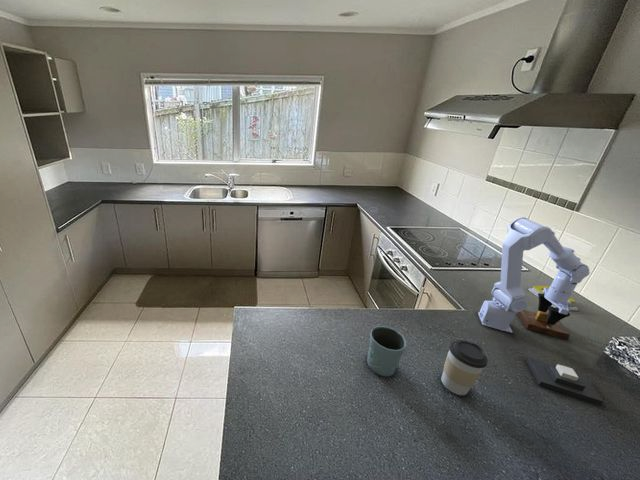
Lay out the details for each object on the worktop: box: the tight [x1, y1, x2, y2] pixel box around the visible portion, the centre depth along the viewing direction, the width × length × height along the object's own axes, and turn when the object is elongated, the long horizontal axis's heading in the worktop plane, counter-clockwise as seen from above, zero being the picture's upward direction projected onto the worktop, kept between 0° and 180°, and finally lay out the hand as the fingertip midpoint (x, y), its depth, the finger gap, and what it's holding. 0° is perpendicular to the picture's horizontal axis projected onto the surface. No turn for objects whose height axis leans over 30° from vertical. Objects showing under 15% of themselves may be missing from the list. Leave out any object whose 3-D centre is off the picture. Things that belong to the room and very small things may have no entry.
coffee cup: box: [440, 339, 489, 396], centre depth 83 cm, size 9×9×15 cm
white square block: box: [555, 363, 579, 381], centre depth 86 cm, size 4×4×2 cm
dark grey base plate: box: [526, 357, 604, 406], centre depth 87 cm, size 14×10×4 cm
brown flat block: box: [517, 309, 571, 340], centre depth 111 cm, size 12×10×3 cm
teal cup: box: [366, 325, 407, 377], centre depth 89 cm, size 10×10×12 cm
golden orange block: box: [535, 310, 549, 322], centre depth 109 cm, size 5×2×4 cm, turn 64°
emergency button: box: [527, 285, 579, 312], centre depth 126 cm, size 9×4×15 cm
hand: (545, 317), depth 109 cm, fingers open, 7 cm apart
